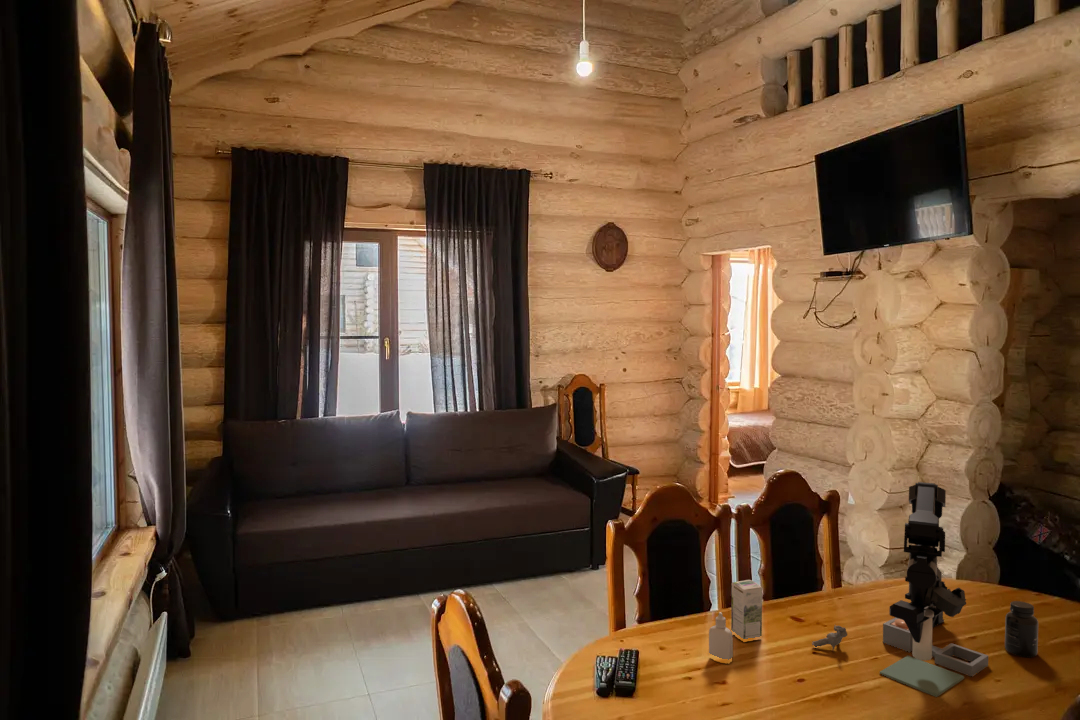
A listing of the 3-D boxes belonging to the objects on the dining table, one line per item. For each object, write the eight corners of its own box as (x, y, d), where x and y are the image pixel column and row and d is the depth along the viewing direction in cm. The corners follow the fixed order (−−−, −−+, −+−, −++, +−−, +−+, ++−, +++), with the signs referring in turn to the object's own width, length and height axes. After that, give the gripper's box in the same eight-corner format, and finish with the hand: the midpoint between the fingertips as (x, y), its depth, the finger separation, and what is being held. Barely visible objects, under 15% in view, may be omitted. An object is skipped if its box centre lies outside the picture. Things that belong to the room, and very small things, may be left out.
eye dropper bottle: (721, 653, 183) (721, 607, 182) (735, 663, 178) (734, 615, 177) (706, 656, 181) (706, 609, 181) (719, 667, 176) (719, 618, 175)
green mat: (879, 674, 171) (879, 671, 171) (907, 657, 179) (907, 655, 179) (936, 697, 161) (936, 694, 161) (964, 678, 168) (964, 676, 168)
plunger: (890, 642, 187) (890, 621, 186) (899, 638, 189) (899, 617, 189) (907, 649, 183) (907, 627, 183) (916, 644, 186) (916, 622, 185)
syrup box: (749, 631, 195) (749, 578, 194) (762, 640, 190) (762, 586, 189) (730, 634, 193) (730, 581, 192) (743, 644, 188) (743, 589, 187)
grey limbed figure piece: (807, 639, 190) (841, 628, 189) (818, 662, 186) (852, 650, 186) (807, 628, 182) (842, 616, 182) (819, 652, 179) (854, 639, 178)
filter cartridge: (907, 655, 170) (907, 610, 169) (917, 649, 173) (917, 605, 172) (927, 663, 166) (927, 616, 165) (937, 656, 169) (937, 611, 168)
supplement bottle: (1042, 659, 177) (1044, 611, 176) (1011, 657, 178) (1012, 609, 177) (1030, 646, 183) (1031, 599, 182) (999, 644, 185) (1000, 598, 184)
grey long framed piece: (881, 643, 187) (881, 624, 186) (898, 634, 191) (898, 615, 191) (971, 676, 169) (972, 655, 169) (988, 665, 174) (988, 645, 174)
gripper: (939, 594, 156) (938, 664, 157) (978, 574, 167) (977, 640, 168) (888, 579, 165) (887, 646, 166) (929, 561, 176) (928, 624, 177)
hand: (922, 639), depth 169 cm, fingers closed on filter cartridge, 4 cm apart
